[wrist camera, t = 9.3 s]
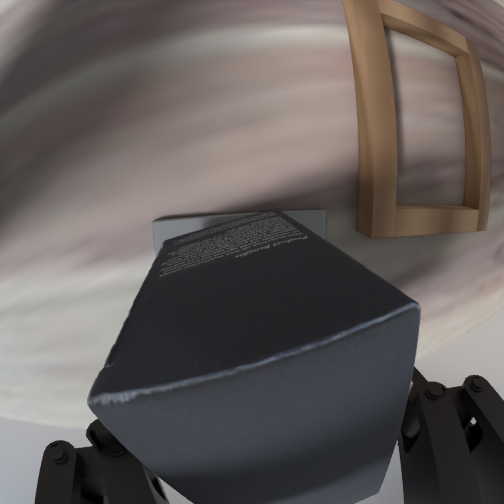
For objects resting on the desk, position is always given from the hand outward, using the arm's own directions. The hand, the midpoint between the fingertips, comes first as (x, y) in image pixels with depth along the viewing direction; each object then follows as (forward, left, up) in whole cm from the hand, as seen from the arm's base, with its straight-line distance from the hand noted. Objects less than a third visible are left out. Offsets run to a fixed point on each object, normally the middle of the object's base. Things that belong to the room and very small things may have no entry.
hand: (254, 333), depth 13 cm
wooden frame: (+14, +12, -5) cm, 19 cm away
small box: (0, 0, -2) cm, 2 cm away
